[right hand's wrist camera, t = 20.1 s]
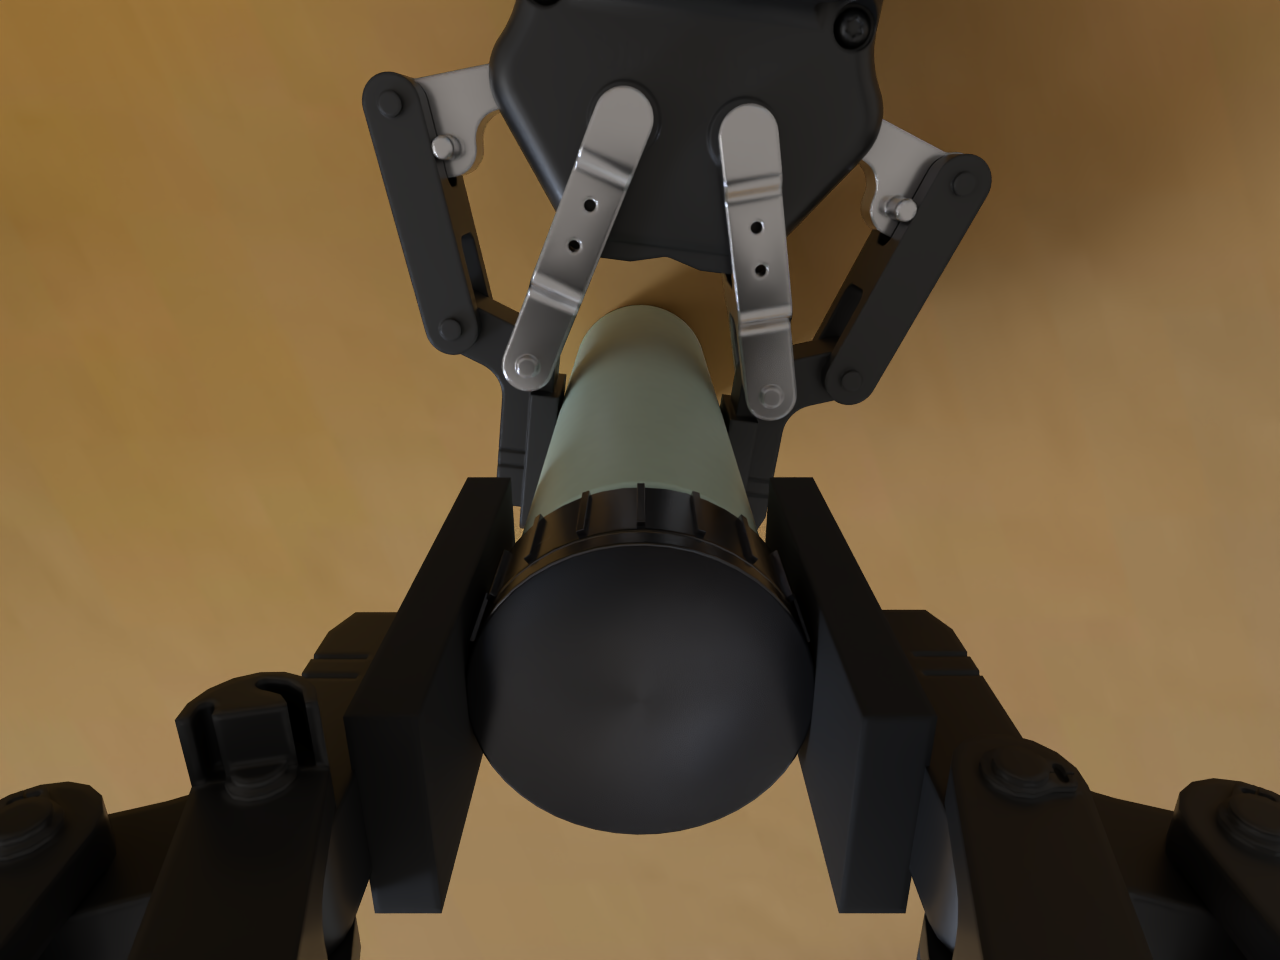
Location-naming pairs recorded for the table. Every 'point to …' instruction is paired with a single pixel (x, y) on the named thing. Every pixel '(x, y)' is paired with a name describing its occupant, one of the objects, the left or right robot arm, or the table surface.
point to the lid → (640, 663)
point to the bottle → (640, 418)
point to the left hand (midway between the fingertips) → (628, 525)
